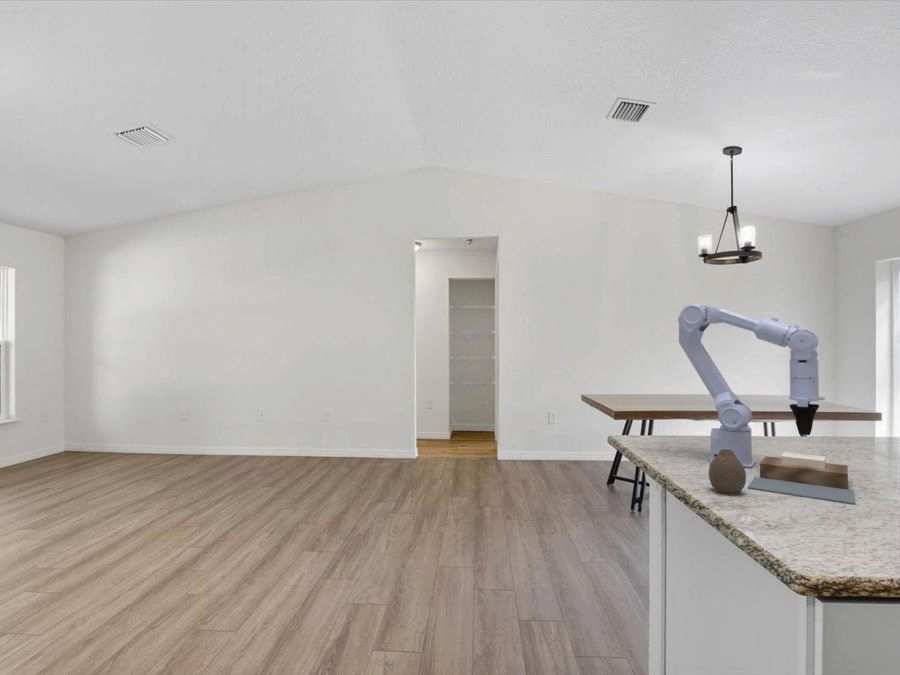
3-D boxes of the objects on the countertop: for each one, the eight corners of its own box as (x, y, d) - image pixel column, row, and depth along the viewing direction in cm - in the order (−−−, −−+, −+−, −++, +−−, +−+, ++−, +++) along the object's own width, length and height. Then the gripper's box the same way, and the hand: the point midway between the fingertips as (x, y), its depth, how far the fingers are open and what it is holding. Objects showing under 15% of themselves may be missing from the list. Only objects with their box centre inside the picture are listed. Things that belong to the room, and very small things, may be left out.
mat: (747, 488, 107) (747, 487, 107) (754, 478, 115) (754, 476, 115) (855, 504, 95) (855, 503, 95) (854, 491, 104) (854, 490, 104)
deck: (760, 478, 115) (759, 463, 115) (765, 470, 123) (765, 456, 123) (848, 490, 105) (847, 474, 105) (847, 480, 113) (847, 465, 113)
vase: (704, 492, 104) (704, 450, 104) (714, 485, 109) (713, 445, 109) (741, 498, 99) (741, 455, 100) (749, 491, 104) (749, 450, 105)
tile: (781, 463, 115) (781, 456, 115) (783, 459, 119) (783, 451, 119) (824, 469, 110) (824, 460, 110) (825, 464, 114) (825, 456, 114)
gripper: (823, 380, 113) (824, 439, 113) (825, 377, 124) (826, 431, 124) (786, 379, 117) (787, 436, 117) (791, 376, 129) (792, 429, 128)
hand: (805, 433), depth 121 cm, fingers closed
